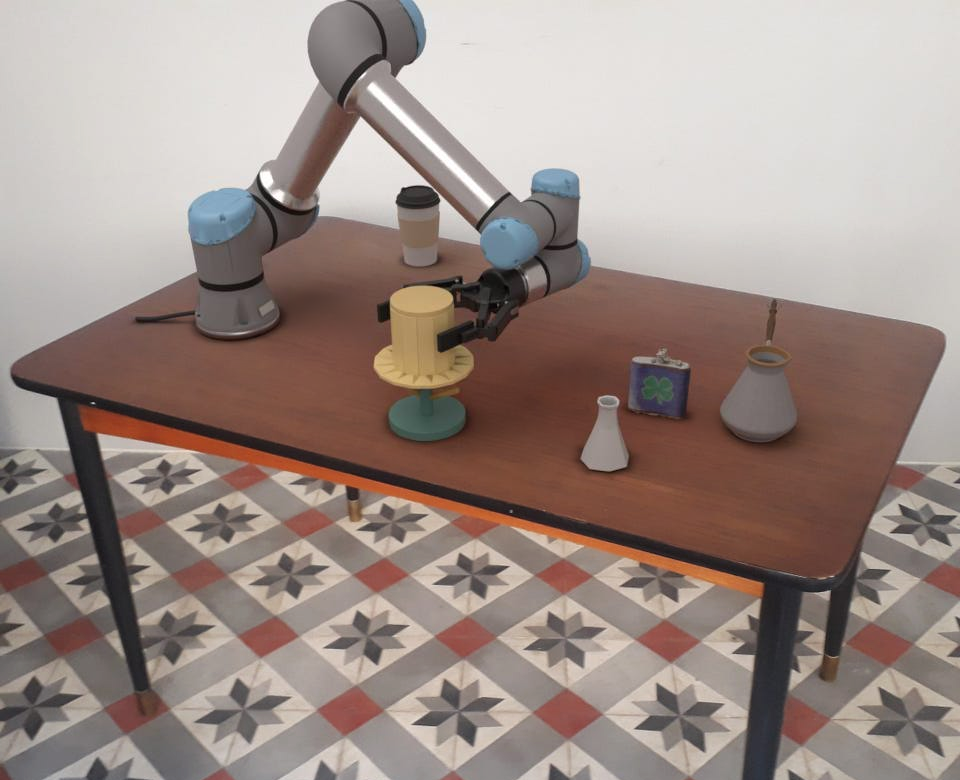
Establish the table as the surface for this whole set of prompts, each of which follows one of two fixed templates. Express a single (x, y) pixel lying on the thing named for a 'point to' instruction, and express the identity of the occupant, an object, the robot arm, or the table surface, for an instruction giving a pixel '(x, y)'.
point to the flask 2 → (659, 386)
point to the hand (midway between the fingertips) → (407, 328)
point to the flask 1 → (606, 439)
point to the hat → (421, 341)
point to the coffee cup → (419, 224)
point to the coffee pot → (761, 393)
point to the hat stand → (427, 415)
